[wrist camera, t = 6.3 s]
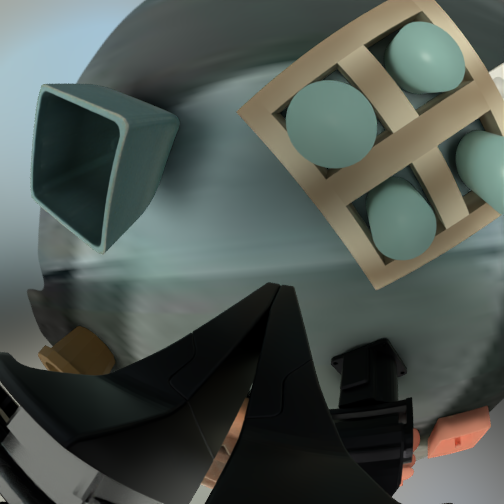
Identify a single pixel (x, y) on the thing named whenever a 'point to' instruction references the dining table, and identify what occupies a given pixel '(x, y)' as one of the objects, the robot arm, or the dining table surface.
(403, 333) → the dining table surface
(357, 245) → the board
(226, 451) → the ceramic jug
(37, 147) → the flower pot
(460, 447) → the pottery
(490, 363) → the dining table surface
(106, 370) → the flowerpot
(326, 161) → the button
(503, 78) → the card
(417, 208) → the button
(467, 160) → the button
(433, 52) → the button
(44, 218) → the dining table surface
